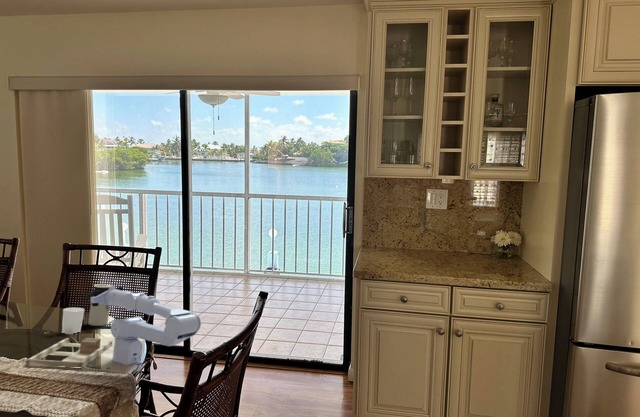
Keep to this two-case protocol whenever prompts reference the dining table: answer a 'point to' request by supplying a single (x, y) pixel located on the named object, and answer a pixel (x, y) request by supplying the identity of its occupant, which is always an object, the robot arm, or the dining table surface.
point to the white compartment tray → (72, 359)
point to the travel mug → (99, 309)
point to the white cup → (72, 320)
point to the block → (89, 345)
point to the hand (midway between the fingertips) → (97, 294)
